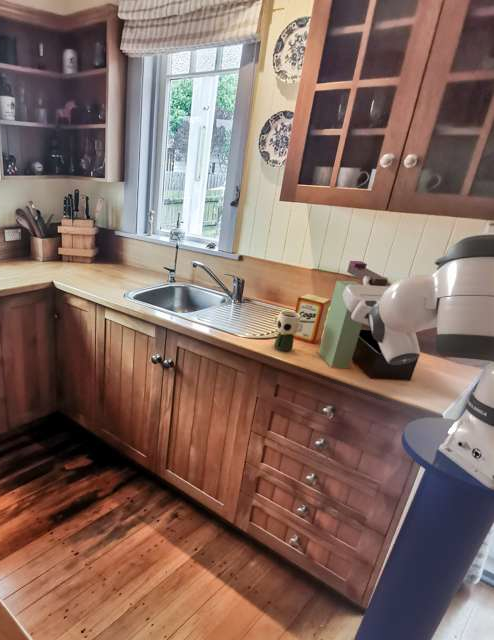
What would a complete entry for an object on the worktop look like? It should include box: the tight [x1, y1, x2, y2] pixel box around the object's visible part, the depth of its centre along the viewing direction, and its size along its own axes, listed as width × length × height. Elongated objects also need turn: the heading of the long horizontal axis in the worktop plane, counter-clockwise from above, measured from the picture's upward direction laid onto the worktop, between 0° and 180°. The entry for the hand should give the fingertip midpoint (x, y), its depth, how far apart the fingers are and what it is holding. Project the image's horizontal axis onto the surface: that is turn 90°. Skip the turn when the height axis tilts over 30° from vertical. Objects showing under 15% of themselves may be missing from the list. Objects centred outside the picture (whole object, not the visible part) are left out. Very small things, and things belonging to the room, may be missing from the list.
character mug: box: [273, 310, 303, 352], centre depth 163 cm, size 11×7×13 cm, turn 40°
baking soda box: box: [293, 293, 332, 345], centre depth 173 cm, size 10×6×16 cm
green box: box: [318, 280, 363, 369], centre depth 153 cm, size 12×6×26 cm, turn 178°
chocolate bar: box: [346, 260, 389, 286], centre depth 140 cm, size 18×4×4 cm, turn 178°
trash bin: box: [351, 328, 419, 381], centre depth 155 cm, size 22×13×9 cm, turn 178°
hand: (374, 278), depth 136 cm, fingers closed on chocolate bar, 3 cm apart
